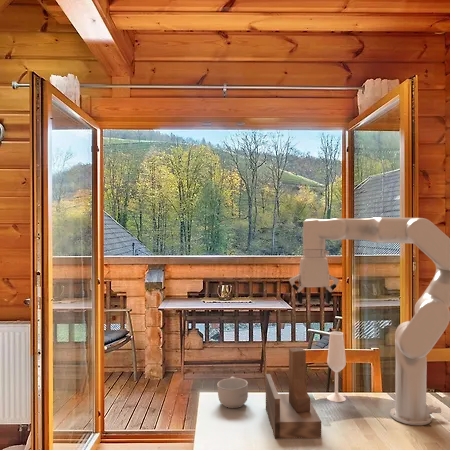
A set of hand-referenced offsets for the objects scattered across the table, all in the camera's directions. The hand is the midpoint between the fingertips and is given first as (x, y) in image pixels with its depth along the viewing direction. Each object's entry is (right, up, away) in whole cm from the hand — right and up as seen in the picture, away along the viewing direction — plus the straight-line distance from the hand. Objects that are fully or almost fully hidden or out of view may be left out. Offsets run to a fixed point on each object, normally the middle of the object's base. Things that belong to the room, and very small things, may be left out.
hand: (314, 303), depth 161 cm
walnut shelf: (-10, -37, -12) cm, 40 cm away
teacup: (-28, -37, +4) cm, 46 cm away
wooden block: (-7, -32, -12) cm, 35 cm away
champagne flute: (+10, -36, +8) cm, 38 cm away
